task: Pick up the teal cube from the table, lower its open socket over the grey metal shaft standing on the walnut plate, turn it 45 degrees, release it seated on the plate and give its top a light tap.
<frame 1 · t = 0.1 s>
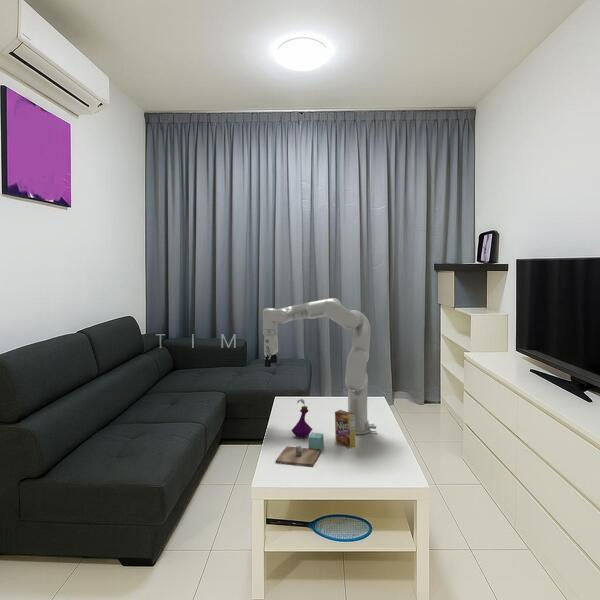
hand: (270, 364, 238), 31 cm above the table, fingers open, 9 cm apart
candy box: (345, 445, 210), on the table
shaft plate: (299, 457, 197), on the table
teal cube: (316, 448, 207), on the table
perfume bottle: (302, 436, 222), on the table
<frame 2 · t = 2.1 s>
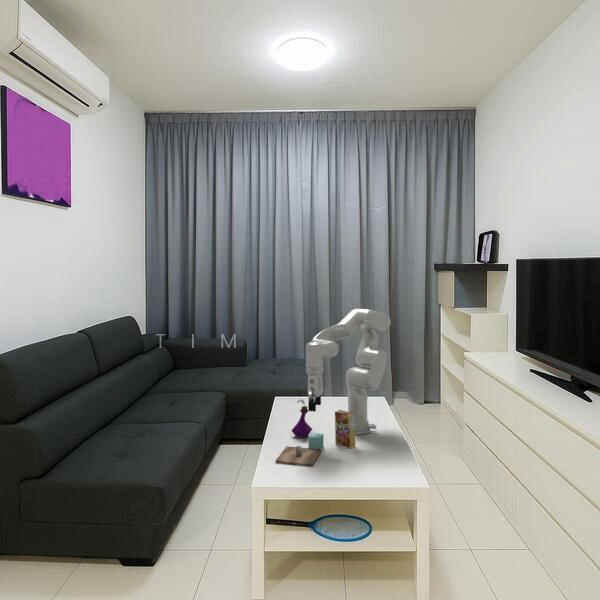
hand: (314, 407, 206), 19 cm above the table, fingers open, 9 cm apart
nothing on the table moved.
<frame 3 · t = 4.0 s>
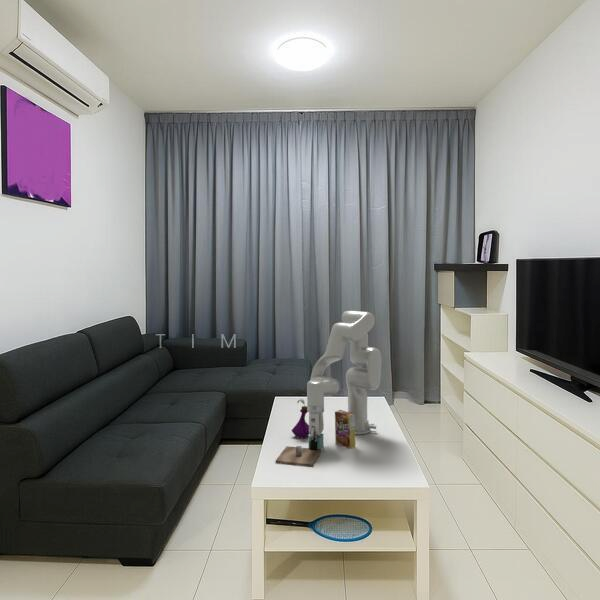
hand: (315, 446, 206), 1 cm above the table, fingers open, 7 cm apart
nothing on the table moved.
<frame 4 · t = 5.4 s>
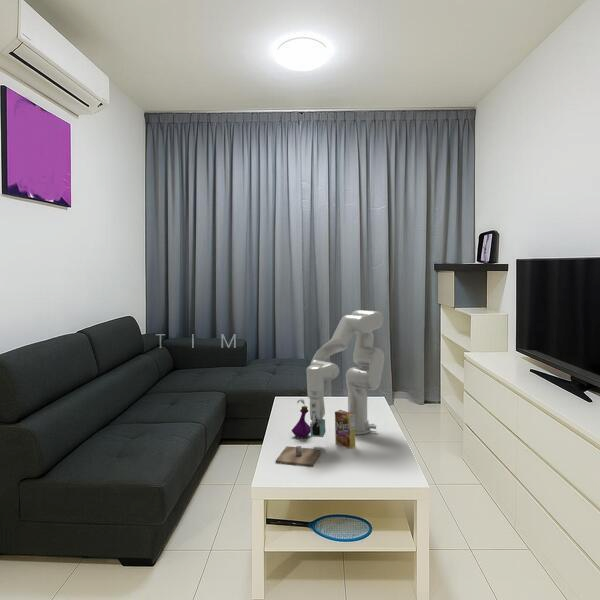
hand: (317, 431, 207), 7 cm above the table, fingers closed on teal cube, 5 cm apart
teal cube: (318, 434, 207), point 6 cm above the table, touching gripper
everything else where it was.
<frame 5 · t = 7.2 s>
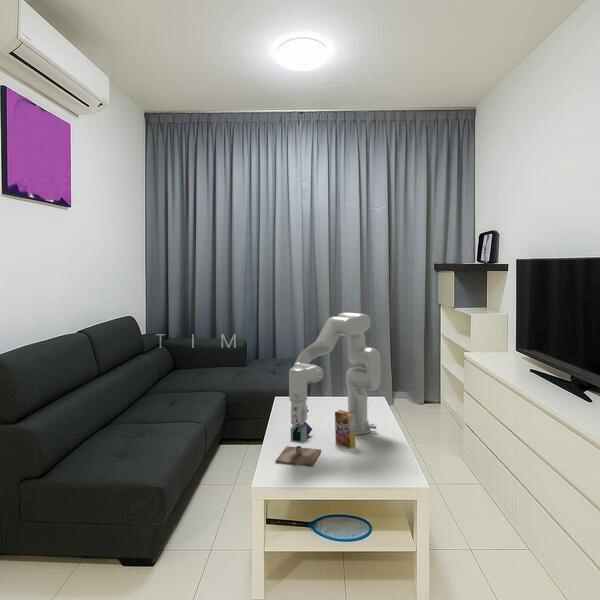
hand: (298, 437, 197), 9 cm above the table, fingers closed on teal cube, 5 cm apart
teal cube: (298, 440, 197), point 8 cm above the table, touching gripper
everything else where it was.
when the fingers open (2 cm above the table, at t = 9.4 s): teal cube stays where it is, resting on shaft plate.
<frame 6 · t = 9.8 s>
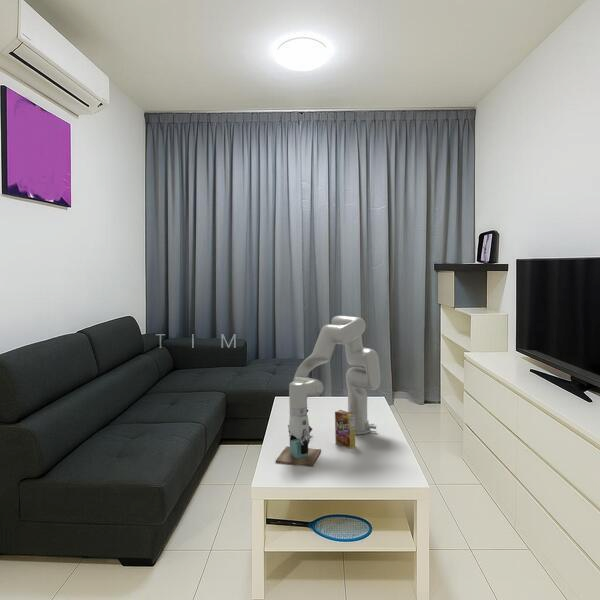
hand: (298, 449, 197), 3 cm above the table, fingers open, 9 cm apart
teal cube: (299, 454, 197), point 1 cm above the table, touching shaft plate
everything else where it was.
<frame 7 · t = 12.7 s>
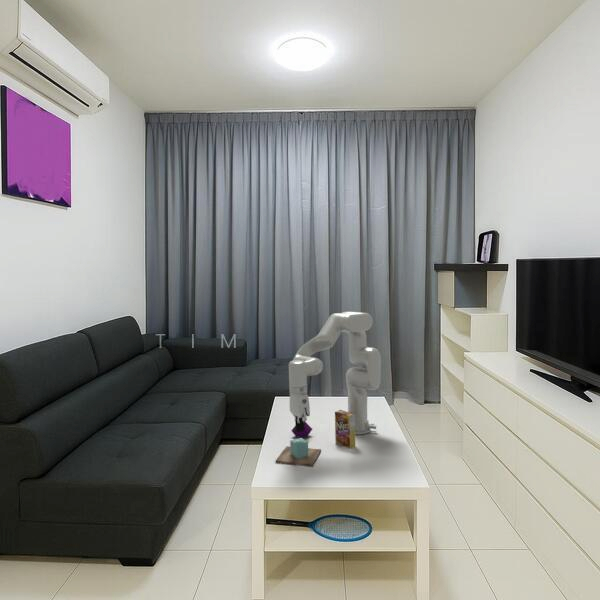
hand: (299, 431, 197), 11 cm above the table, fingers closed
nothing on the table moved.
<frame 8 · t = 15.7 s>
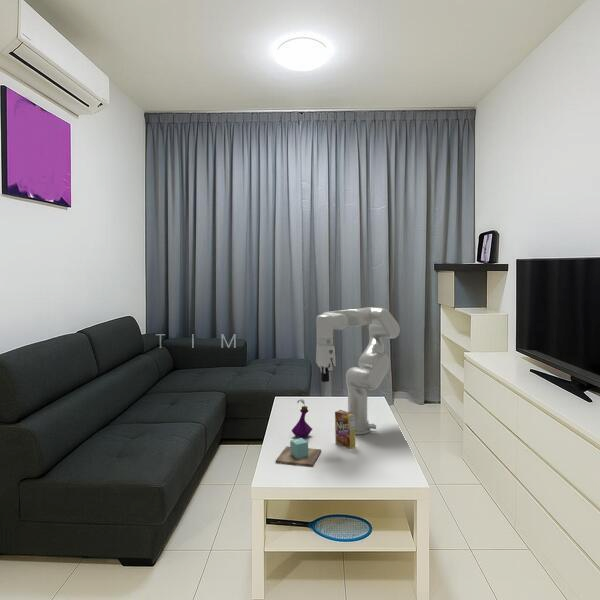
hand: (325, 381, 211), 29 cm above the table, fingers closed
nothing on the table moved.
at the end: teal cube 0.2 cm from the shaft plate (horizontally); teal cube point 1.0 cm above the table; teal cube tilted 0° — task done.
